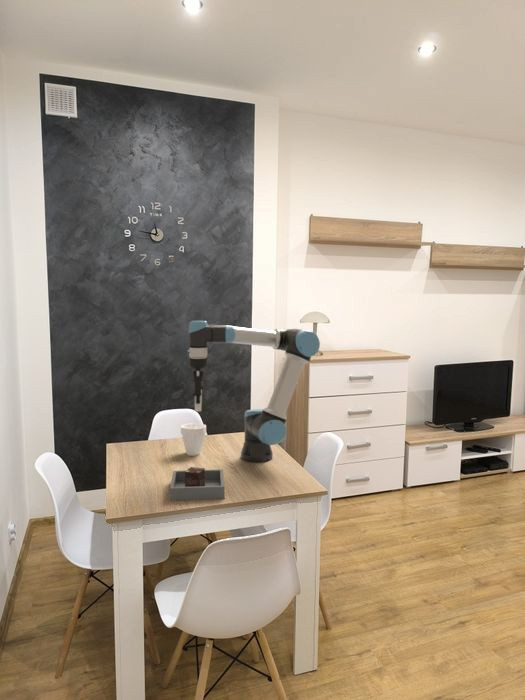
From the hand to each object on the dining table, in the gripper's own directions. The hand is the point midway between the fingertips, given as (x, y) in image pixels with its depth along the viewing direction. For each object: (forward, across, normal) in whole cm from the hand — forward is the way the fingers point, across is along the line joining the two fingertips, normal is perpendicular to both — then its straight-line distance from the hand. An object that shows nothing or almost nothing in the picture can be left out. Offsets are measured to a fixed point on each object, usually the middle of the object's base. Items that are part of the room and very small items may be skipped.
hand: (198, 407), depth 207 cm
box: (+28, +18, -1) cm, 33 cm away
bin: (+29, +18, 0) cm, 34 cm away
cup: (+29, -31, -3) cm, 42 cm away
